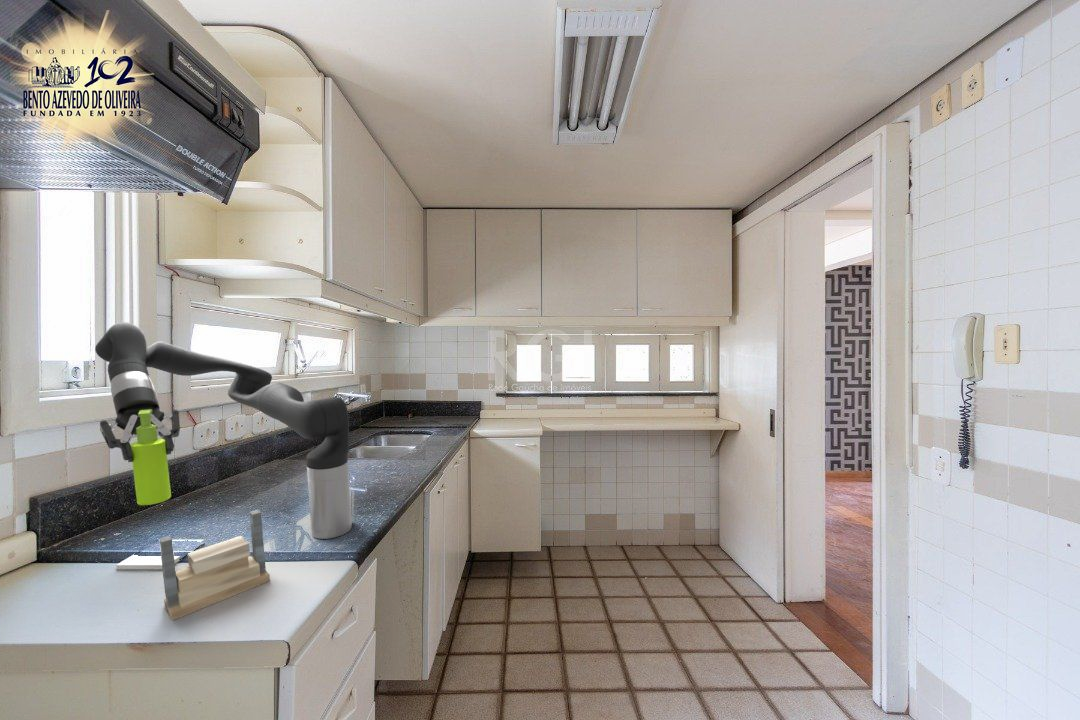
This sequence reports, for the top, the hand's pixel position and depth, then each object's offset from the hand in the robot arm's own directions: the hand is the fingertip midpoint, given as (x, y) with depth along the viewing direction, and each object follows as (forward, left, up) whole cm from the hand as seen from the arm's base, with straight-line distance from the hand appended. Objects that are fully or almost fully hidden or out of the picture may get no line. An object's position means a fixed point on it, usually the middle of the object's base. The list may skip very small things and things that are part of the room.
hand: (150, 456), depth 102 cm
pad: (-1, -1, -24) cm, 24 cm away
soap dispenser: (-1, -1, -10) cm, 11 cm away
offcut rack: (+13, +22, -24) cm, 35 cm away
